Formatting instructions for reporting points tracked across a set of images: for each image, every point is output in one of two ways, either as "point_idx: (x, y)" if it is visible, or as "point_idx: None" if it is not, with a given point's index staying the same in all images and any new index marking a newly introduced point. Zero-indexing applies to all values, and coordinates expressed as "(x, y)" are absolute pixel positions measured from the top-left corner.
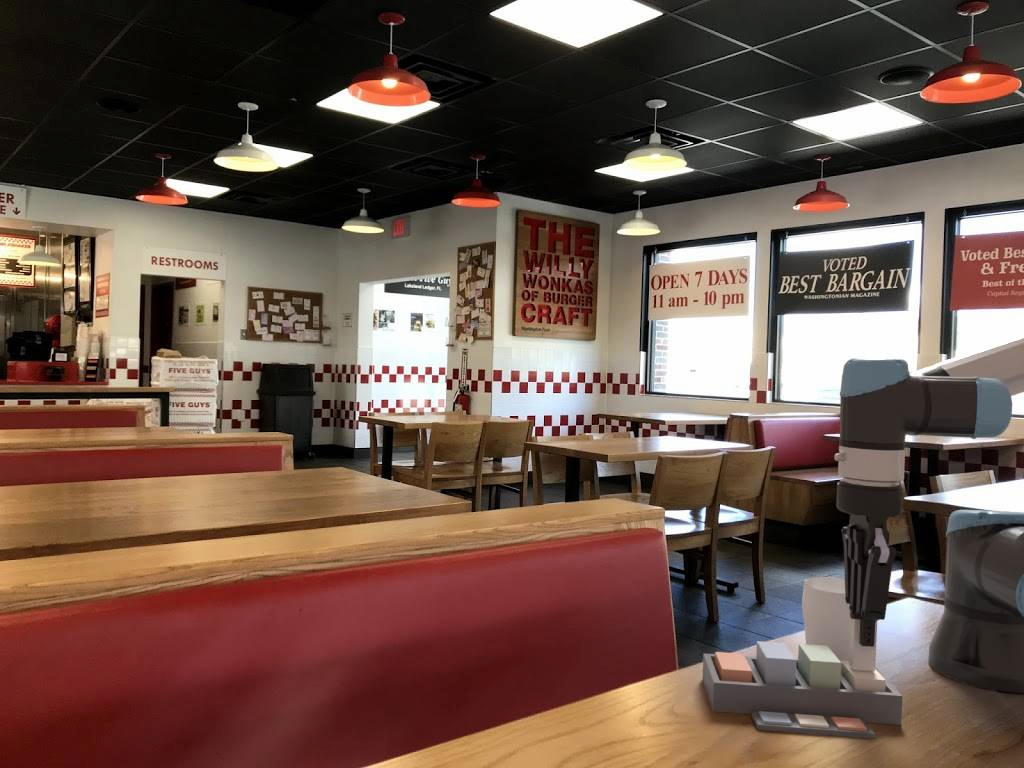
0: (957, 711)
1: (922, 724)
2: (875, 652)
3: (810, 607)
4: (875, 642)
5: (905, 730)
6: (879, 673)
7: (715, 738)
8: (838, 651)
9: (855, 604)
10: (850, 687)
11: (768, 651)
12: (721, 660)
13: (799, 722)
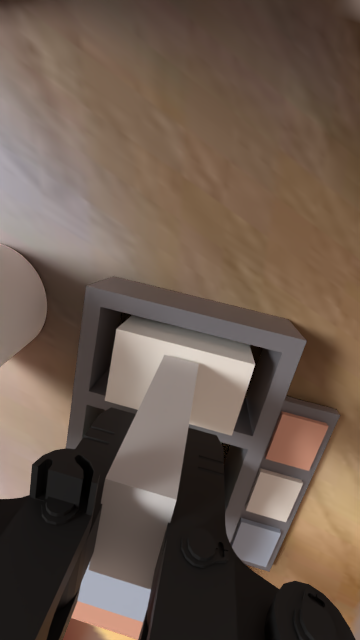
0: (233, 119)
1: (290, 267)
2: (193, 393)
3: None
4: (188, 416)
5: (312, 324)
6: (203, 351)
7: None
8: (9, 341)
9: (62, 635)
10: (235, 434)
11: (133, 608)
12: (115, 628)
13: (279, 519)
